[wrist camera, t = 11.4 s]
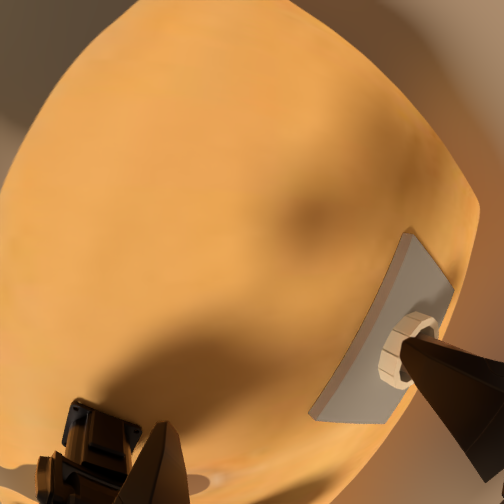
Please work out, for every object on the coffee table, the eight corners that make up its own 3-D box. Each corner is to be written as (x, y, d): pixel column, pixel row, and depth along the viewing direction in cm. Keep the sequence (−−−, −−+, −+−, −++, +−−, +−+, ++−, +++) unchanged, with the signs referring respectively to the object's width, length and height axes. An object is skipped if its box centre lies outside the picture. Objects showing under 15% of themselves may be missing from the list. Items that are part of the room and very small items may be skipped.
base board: (378, 419, 31) (396, 432, 28) (307, 413, 25) (328, 434, 21) (446, 287, 33) (467, 293, 29) (402, 232, 27) (432, 236, 23)
